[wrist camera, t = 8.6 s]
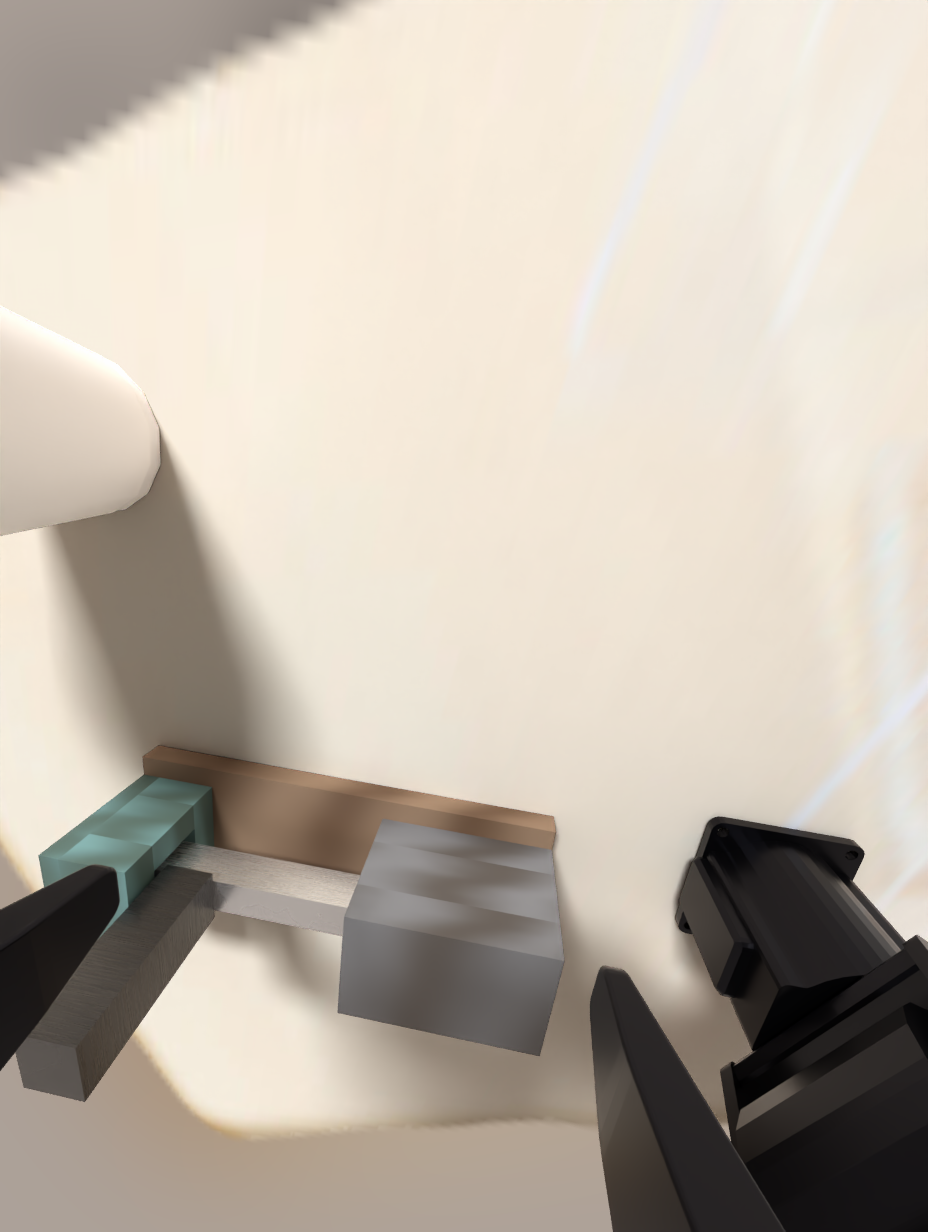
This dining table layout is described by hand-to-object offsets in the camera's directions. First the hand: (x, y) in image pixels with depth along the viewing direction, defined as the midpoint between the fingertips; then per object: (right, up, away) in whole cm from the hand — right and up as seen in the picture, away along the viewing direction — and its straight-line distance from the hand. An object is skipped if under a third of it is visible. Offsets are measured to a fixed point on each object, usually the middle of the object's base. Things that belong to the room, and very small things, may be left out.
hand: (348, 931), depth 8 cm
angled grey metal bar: (-7, -6, +12) cm, 15 cm away
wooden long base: (-4, -6, +15) cm, 16 cm away
